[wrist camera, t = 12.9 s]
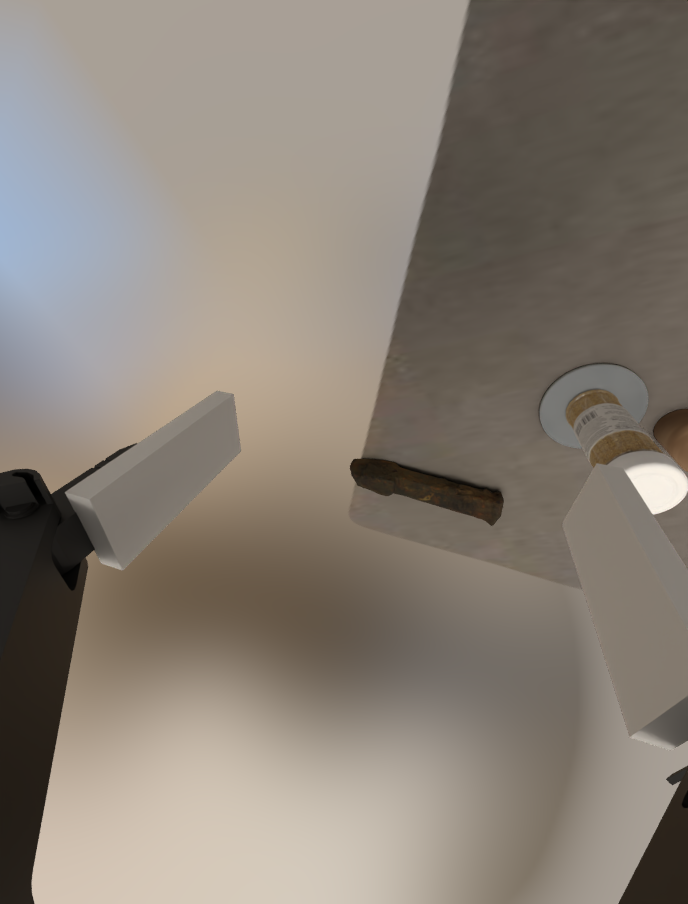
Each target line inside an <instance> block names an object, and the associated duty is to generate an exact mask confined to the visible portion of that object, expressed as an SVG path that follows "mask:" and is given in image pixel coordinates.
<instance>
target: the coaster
mask: <svg viewBox="0 0 688 904" xmlns="http://www.w3.org/2000/svg"><path fill="white" fill-rule="evenodd" d="M598 389H600V390H605V391H608V392H610V393H612V394H613V395H615V396H616V397H617V399H618V401H619V403H620V404H621V405H622V406H623V408H625V409H626V410H627V411H628V412H629V413H630V414H631V416H632V417H633V418H634V419H635V420H636V421H637V423H638V424H639V422H640V421H641V420H642V418H643V416H644V414H645V412H646V410H647V406H648V392H647V388H646V386H645V384H644V382H643V381H642V380H641V379H640V378H639V377H638V376H637V375H636V374H635V373H634V372H632V371H631V370H629V369H627V368H625V367H623V366H620V365H616V364H610V363H596V364H589V365H585V366H581V367H578V368H576V369H573V370H571V371H569V372H567V373H566V374H564V375H562V376H561V377H560V378H558V379H557V380H556V381H555V382H554V383H553V384H552V385H551V386H550V387H549V388H548V389H547V391H546V392H545V394H544V396H543V398H542V400H541V403H540V407H539V417H540V422H541V424H542V427H543V429H544V430H545V432H546V433H547V434H548V436H549V437H551V438H552V439H553V440H555V441H556V442H558V443H560V444H562V445H565V446H568V447H573V448H582V447H581V445H580V443H579V441H578V439H577V437H576V435H575V433H574V430H573V428H572V426H570V425H569V423H568V422H567V419H566V409H567V407H568V405H569V403H570V402H571V401H572V400H573V399H574V398H575V397H576V396H578V395H579V394H581V393H583V392H586V391H590V390H598Z"/></svg>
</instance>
